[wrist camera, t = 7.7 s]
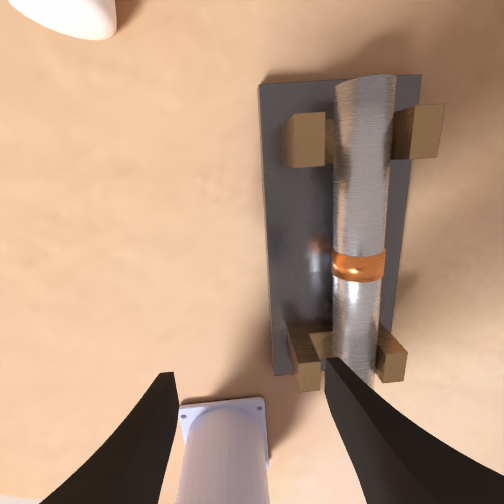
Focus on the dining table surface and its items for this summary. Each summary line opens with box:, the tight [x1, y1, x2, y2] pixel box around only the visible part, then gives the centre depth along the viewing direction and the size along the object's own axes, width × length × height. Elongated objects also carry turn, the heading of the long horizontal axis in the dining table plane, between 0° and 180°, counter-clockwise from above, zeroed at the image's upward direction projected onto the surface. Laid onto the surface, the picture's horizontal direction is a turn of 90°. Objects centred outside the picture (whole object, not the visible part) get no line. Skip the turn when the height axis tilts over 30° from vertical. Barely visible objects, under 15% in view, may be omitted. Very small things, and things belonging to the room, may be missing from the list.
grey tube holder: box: [257, 74, 445, 392], centre depth 18 cm, size 22×10×5 cm, turn 4°
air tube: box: [331, 74, 396, 389], centre depth 17 cm, size 20×3×3 cm, turn 5°
